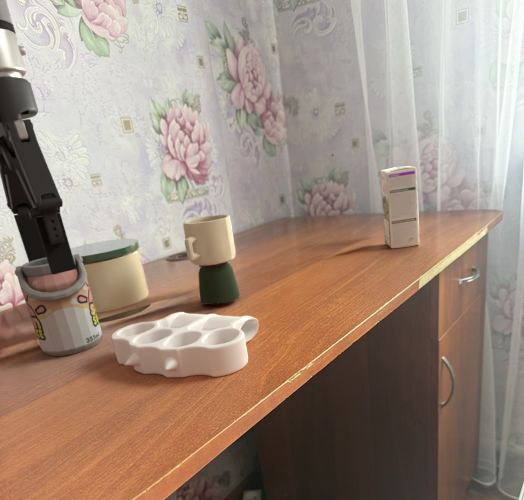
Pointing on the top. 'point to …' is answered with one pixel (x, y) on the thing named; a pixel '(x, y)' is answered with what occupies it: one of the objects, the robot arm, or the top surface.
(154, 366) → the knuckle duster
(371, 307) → the top surface
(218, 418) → the top surface
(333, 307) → the top surface
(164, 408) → the top surface
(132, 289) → the jar
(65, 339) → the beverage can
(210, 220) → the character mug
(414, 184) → the syrup box
